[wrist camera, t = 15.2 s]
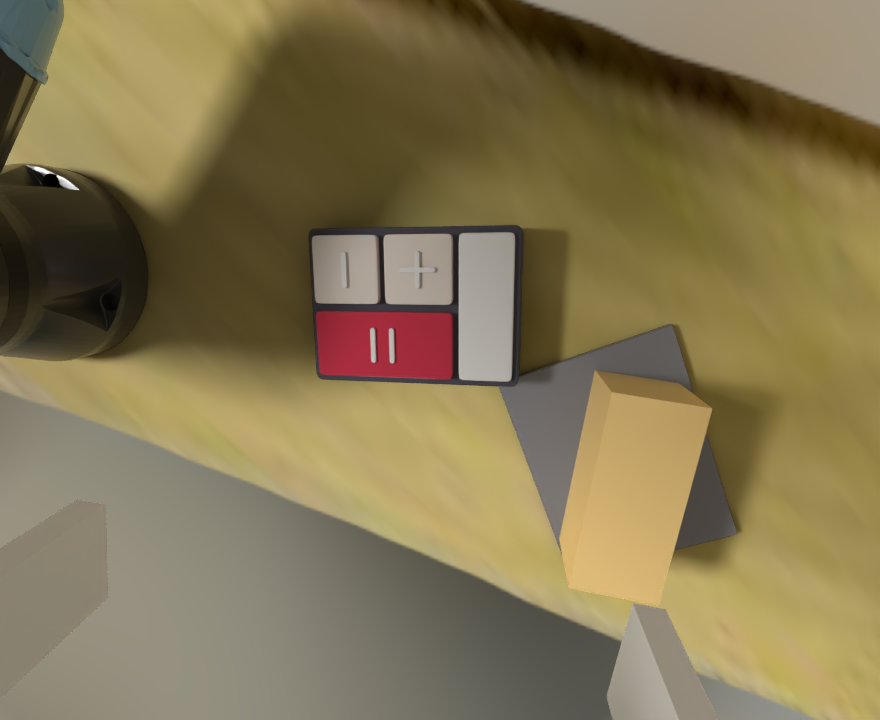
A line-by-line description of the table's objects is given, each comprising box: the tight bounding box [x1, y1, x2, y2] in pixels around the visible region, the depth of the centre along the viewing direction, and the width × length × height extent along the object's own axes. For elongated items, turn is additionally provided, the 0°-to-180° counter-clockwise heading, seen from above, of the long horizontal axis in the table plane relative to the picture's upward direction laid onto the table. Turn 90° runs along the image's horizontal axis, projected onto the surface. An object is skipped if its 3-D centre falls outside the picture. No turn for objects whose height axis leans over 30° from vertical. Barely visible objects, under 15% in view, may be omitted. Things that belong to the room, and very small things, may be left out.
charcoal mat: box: [499, 324, 737, 554], centre depth 38 cm, size 17×13×1 cm
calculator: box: [309, 225, 523, 387], centre depth 36 cm, size 11×4×15 cm
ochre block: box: [559, 370, 713, 606], centre depth 35 cm, size 6×6×14 cm
